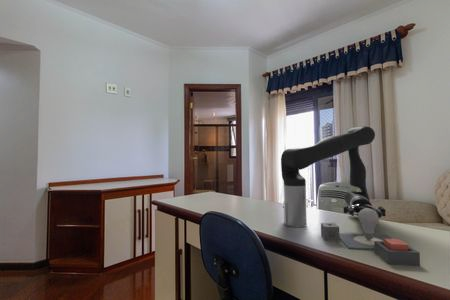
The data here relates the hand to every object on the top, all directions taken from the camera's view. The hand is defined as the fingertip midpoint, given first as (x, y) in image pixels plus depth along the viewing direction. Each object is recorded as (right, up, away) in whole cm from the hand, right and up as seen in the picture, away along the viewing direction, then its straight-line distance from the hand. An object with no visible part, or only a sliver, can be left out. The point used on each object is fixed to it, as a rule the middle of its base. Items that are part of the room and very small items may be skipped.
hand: (365, 214), depth 89 cm
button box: (-2, -8, -19) cm, 20 cm away
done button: (-2, -5, -19) cm, 20 cm away
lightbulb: (-2, -8, -5) cm, 10 cm away
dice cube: (-14, -9, -1) cm, 16 cm away
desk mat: (-2, -8, -6) cm, 10 cm away
